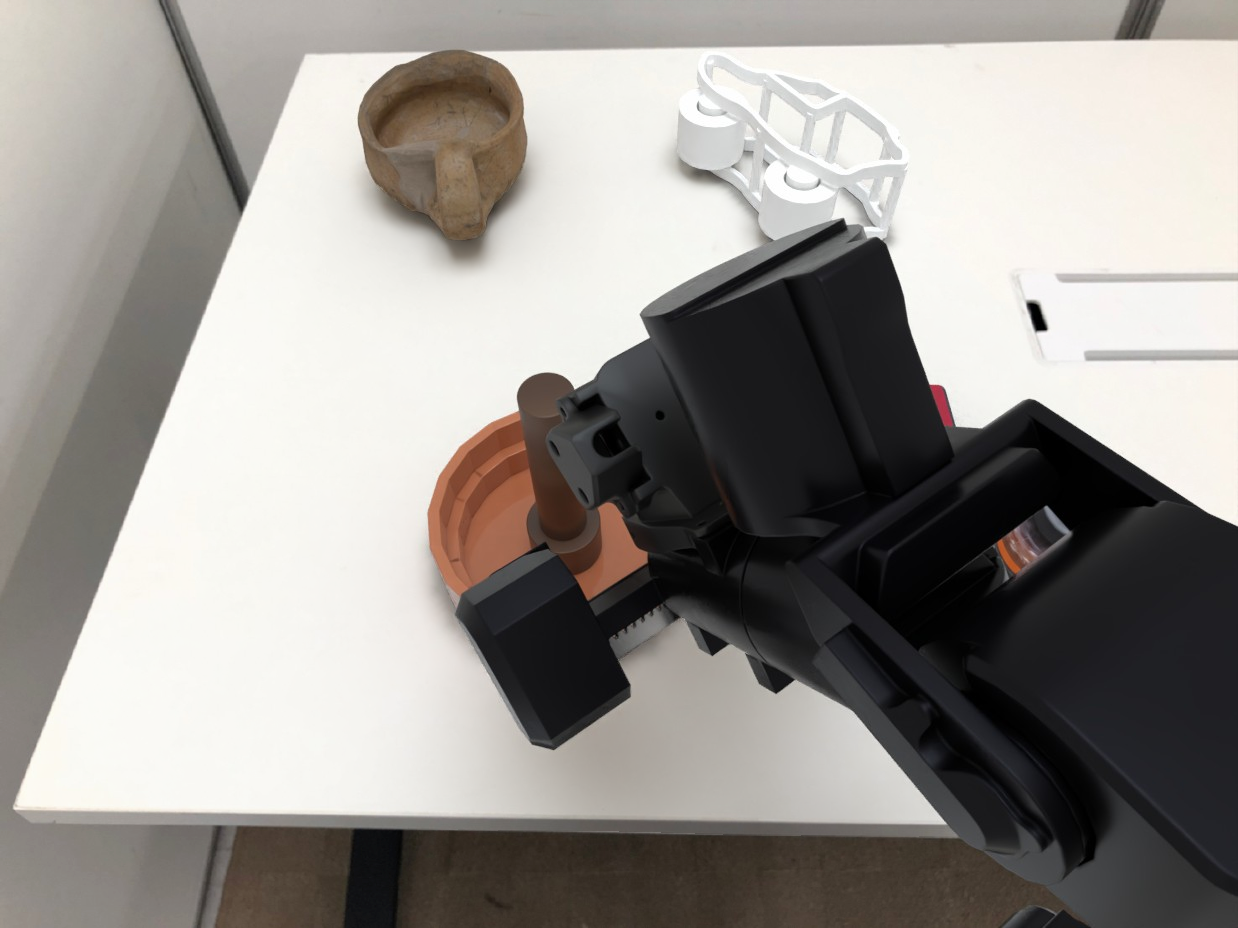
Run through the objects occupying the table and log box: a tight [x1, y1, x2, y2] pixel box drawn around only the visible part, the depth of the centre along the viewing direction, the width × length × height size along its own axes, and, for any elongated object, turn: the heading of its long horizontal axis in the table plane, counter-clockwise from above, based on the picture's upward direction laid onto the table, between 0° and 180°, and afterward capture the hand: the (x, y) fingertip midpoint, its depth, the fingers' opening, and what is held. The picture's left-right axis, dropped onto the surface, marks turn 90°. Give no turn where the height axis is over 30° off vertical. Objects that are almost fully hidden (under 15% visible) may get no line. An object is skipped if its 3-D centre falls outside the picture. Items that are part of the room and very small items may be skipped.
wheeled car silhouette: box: [676, 50, 910, 241], centre depth 70 cm, size 20×11×7 cm, turn 33°
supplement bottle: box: [993, 506, 1070, 578], centre depth 47 cm, size 6×6×11 cm
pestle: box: [516, 371, 602, 575], centre depth 47 cm, size 4×4×15 cm
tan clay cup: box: [357, 49, 528, 241], centre depth 69 cm, size 18×14×10 cm
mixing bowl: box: [427, 410, 658, 637], centre depth 52 cm, size 15×15×5 cm
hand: (619, 513), depth 41 cm, fingers open, 9 cm apart
